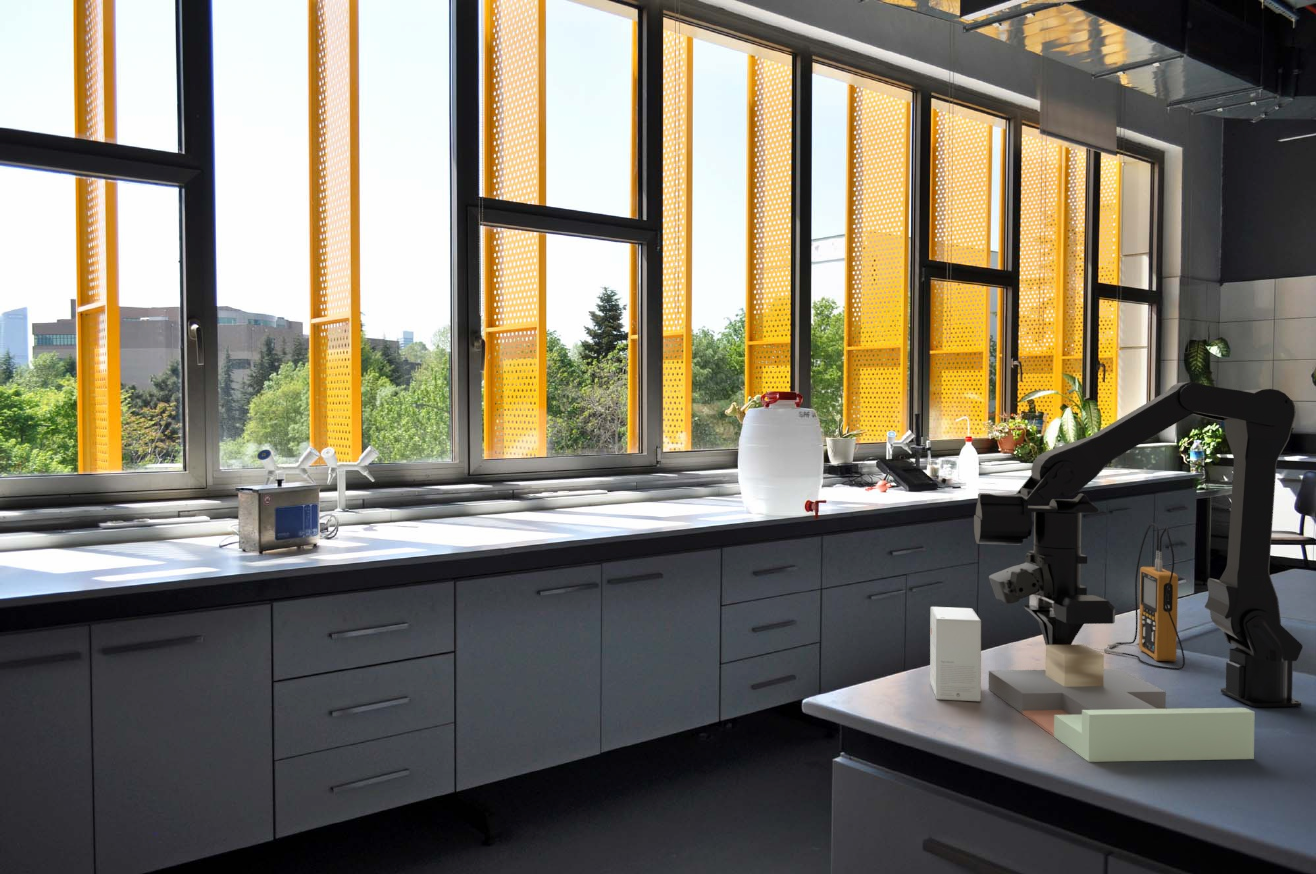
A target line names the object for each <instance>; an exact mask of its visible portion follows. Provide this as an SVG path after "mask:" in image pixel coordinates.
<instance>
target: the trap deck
mask: <svg viewBox="0 0 1316 874" xmlns="http://www.w3.org/2000/svg"><path fill="white" fill-rule="evenodd" d="M1045 674H1046V669H1018V670H1017V669H1016V670H1014V669H1011V670H1009V669H1008V670H1007V669H1006V670H1005V669H1004V670H1002V669H1001V670H999V669H998V670H988V690H989V691H990V692H992V693H993V694H994V695H996V696H997V697H999V698H1000V699H1001V700H1003V701H1004V702H1005V703H1007V704H1008V705H1009V706H1011V707H1012V708H1013V709H1015V710H1016V711H1017V712H1019V713H1020V714H1022V715H1023V716H1025V717H1026V718H1027V719H1029V720H1030V721H1032V723H1034V724H1036V725H1037V726H1039V728H1041V729H1043V730H1044V731H1045V732H1047V733H1049V734H1050V736H1052V737H1054V738H1055V739H1056V740H1058V741H1059V742H1060V743H1062V744H1063V745H1064V746H1066V747H1068V748H1069V749H1070V750H1072V751H1073V752H1074V753H1076V754H1077V755H1079V756H1080V757H1081V758H1082V759H1084V760H1086V761H1087V762H1088V763H1095V762H1096V763H1097V762H1098V763H1099V762H1101V763H1102V762H1151V761H1153V762H1155V761H1158V762H1159V761H1205V760H1207V761H1210V760H1217V761H1218V760H1219V761H1220V760H1254V759H1255V754H1254V753H1255V718H1256V717H1255V711H1254V710H1251V709H1249V708H1246V707H1210V708H1209V707H1205V708H1203V707H1200V708H1197V707H1196V708H1195V707H1194V708H1193V707H1192V708H1191V707H1190V708H1166V706H1167V704H1166V702H1167V701H1166V700H1167V699H1166V696H1167V692H1166V691H1165V690H1163V689H1162V688H1159V687H1157V686H1156V685H1154V684H1151V683H1150V682H1148V681H1146V680H1143V679H1141V678H1139V677H1137V676H1135V675H1133V674H1131V673H1130V672H1128V671H1126V670H1123V669H1122V668H1104V680H1103V686H1079V687H1064V686H1062V685H1061V684H1059V683H1057V682H1056V681H1054V680H1052V679H1051V678H1049V677H1047V676H1046V675H1045Z"/></svg>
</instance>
